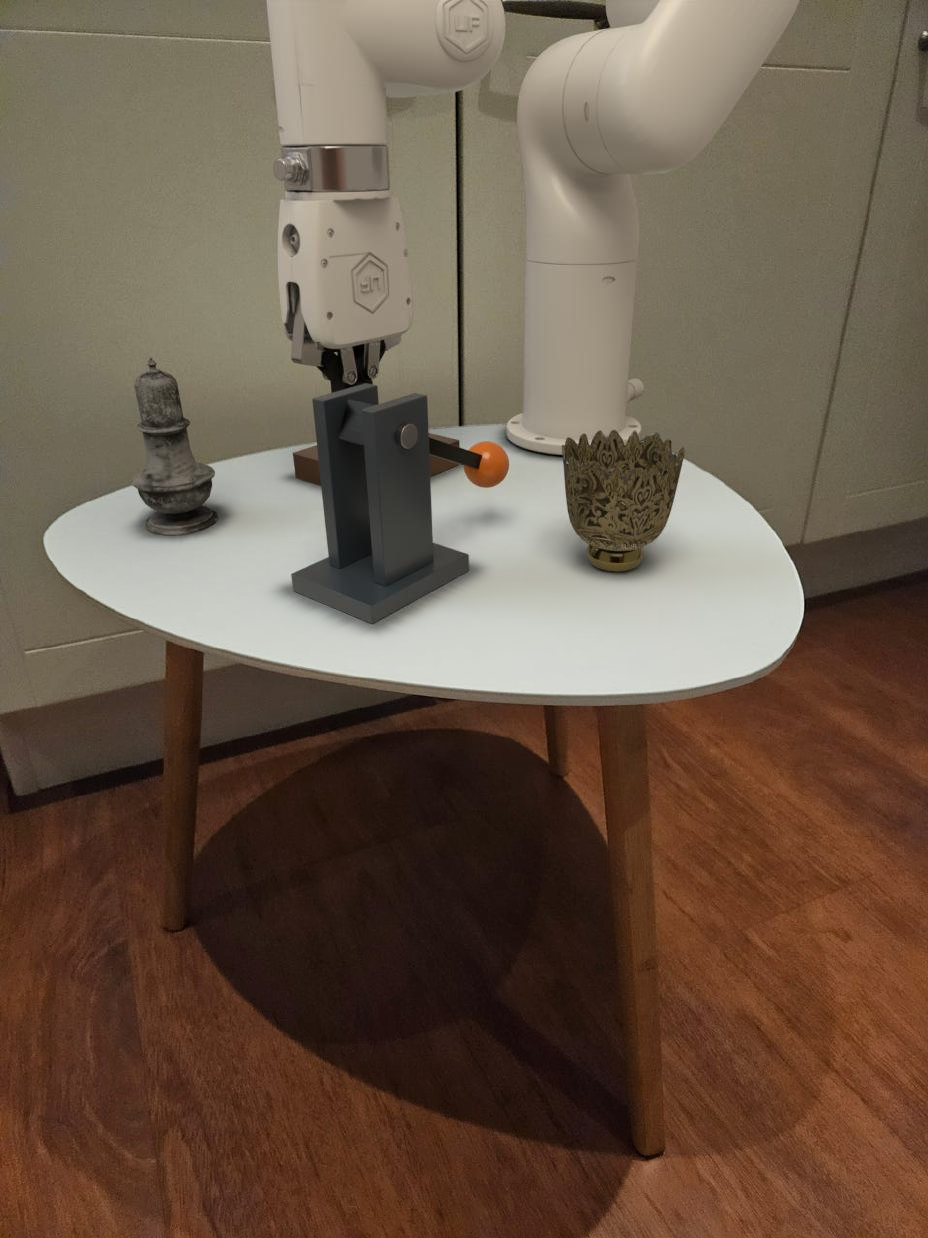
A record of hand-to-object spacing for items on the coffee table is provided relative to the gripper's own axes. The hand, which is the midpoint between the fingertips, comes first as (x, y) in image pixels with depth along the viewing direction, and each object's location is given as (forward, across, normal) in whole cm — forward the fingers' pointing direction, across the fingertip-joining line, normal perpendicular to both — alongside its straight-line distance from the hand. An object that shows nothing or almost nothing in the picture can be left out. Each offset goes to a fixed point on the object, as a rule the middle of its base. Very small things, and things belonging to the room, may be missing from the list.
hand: (354, 428), depth 70 cm
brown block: (+4, +2, 0) cm, 5 cm away
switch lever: (-2, -8, -15) cm, 17 cm away
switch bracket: (+4, -13, -15) cm, 20 cm away
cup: (+4, -2, -26) cm, 26 cm away
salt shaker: (+5, -15, +4) cm, 16 cm away
